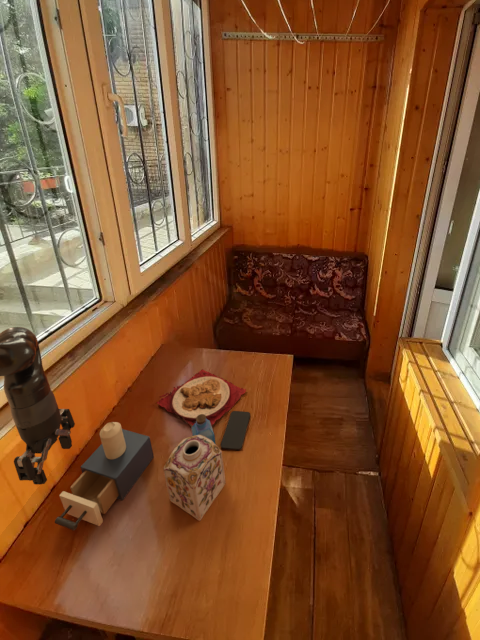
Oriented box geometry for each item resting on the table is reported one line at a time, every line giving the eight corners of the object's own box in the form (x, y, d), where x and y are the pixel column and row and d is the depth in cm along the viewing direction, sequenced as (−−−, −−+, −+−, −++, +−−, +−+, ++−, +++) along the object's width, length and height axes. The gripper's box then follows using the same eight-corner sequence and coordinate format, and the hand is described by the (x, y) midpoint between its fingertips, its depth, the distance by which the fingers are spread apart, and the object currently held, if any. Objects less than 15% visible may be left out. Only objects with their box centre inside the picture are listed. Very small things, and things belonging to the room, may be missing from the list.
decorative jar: (197, 465, 98) (191, 422, 92) (227, 483, 93) (222, 438, 87) (168, 502, 88) (158, 456, 82) (199, 523, 83) (191, 477, 77)
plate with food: (204, 436, 108) (203, 429, 107) (156, 404, 120) (155, 398, 119) (247, 393, 127) (247, 386, 126) (202, 369, 139) (201, 363, 138)
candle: (130, 448, 94) (123, 423, 90) (112, 463, 90) (105, 437, 86) (119, 439, 97) (113, 415, 93) (101, 453, 92) (94, 428, 89)
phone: (219, 447, 103) (231, 410, 117) (219, 449, 103) (231, 412, 117) (241, 449, 102) (250, 412, 116) (241, 451, 102) (251, 413, 116)
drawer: (85, 545, 78) (79, 526, 76) (51, 530, 81) (43, 512, 78) (133, 479, 93) (129, 462, 91) (103, 469, 96) (97, 452, 94)
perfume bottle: (193, 441, 106) (189, 414, 102) (211, 434, 109) (208, 407, 104) (197, 456, 101) (193, 429, 97) (216, 448, 103) (212, 421, 99)
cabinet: (122, 500, 89) (116, 478, 85) (87, 488, 92) (80, 466, 89) (154, 457, 101) (149, 436, 98) (122, 447, 104) (116, 427, 101)
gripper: (43, 388, 75) (60, 437, 81) (-10, 441, 62) (14, 495, 68) (74, 388, 75) (89, 437, 81) (27, 441, 62) (48, 496, 67)
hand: (55, 464), depth 74 cm, fingers open, 8 cm apart
